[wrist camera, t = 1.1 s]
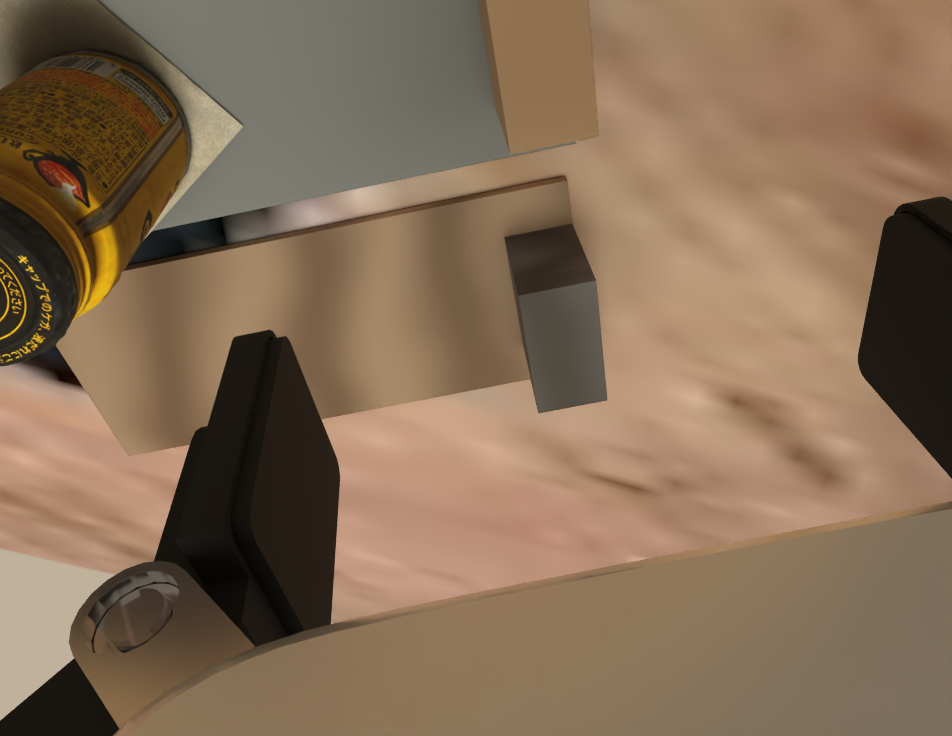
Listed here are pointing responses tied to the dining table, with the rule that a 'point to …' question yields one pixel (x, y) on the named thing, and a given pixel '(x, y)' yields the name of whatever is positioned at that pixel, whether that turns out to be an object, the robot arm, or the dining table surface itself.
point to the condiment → (85, 160)
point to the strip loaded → (369, 88)
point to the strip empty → (355, 314)
